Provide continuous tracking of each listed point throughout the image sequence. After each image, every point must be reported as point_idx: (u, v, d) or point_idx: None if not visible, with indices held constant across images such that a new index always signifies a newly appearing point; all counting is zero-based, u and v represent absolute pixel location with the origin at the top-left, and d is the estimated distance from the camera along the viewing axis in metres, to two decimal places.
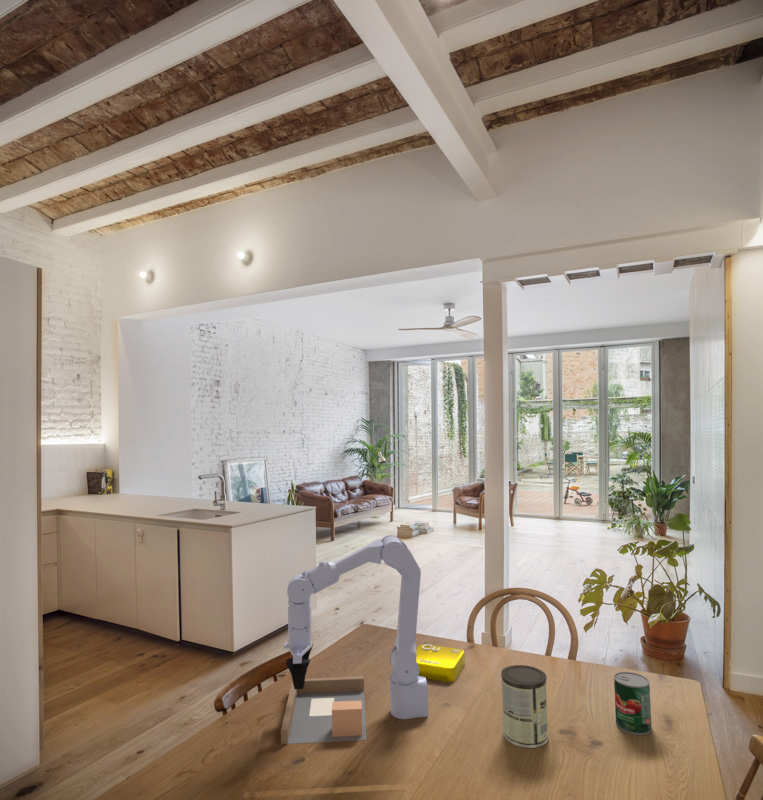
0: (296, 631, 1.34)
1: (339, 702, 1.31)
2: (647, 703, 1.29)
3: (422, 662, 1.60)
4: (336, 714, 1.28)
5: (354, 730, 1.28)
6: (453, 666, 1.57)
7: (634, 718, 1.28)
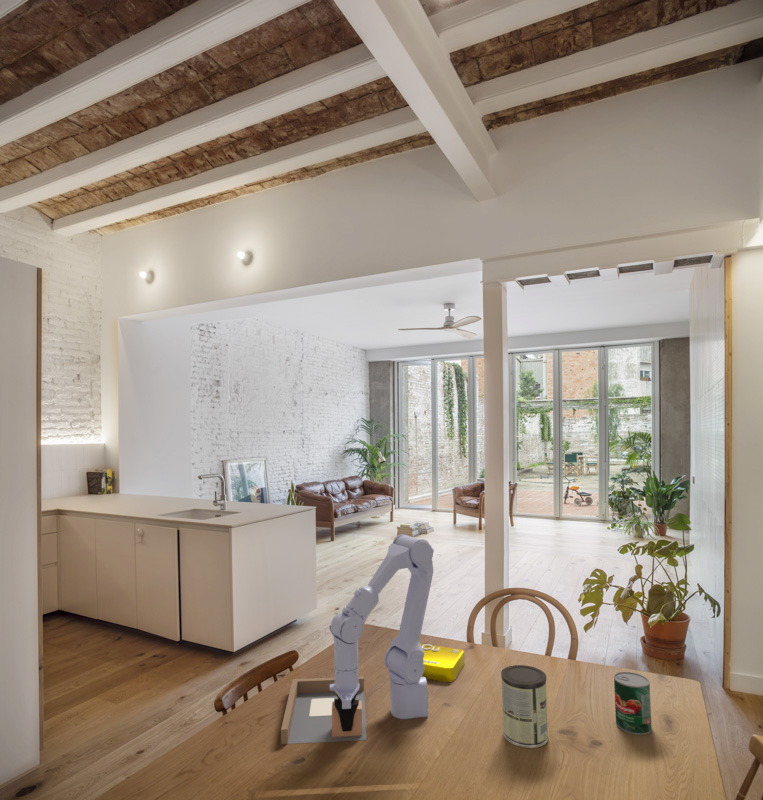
0: (344, 673, 1.28)
1: None
2: (647, 703, 1.29)
3: None
4: (336, 714, 1.28)
5: (354, 730, 1.28)
6: (452, 666, 1.57)
7: (634, 718, 1.28)
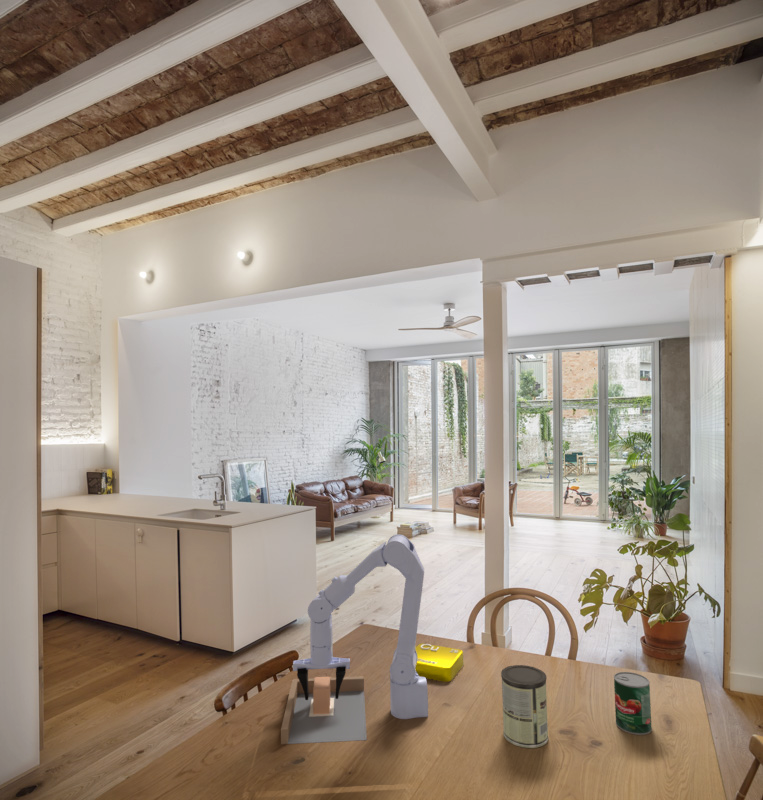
0: None
1: (327, 679, 1.43)
2: (647, 703, 1.29)
3: (419, 661, 1.61)
4: None
5: None
6: (450, 666, 1.57)
7: (634, 718, 1.28)
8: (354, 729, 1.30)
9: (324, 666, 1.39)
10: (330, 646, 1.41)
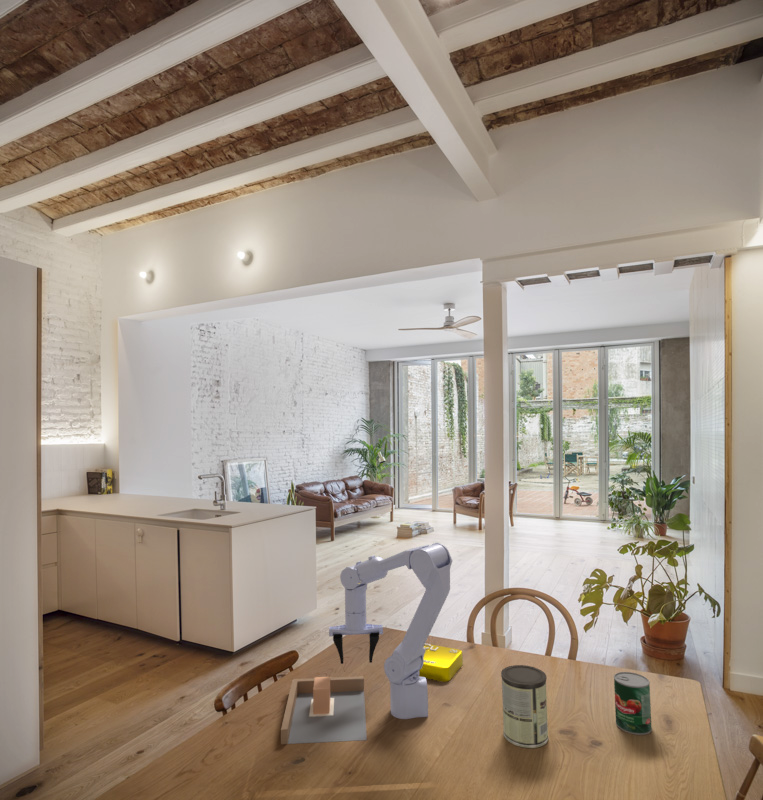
0: None
1: (327, 679, 1.43)
2: (647, 703, 1.29)
3: None
4: None
5: None
6: (448, 666, 1.57)
7: (634, 718, 1.28)
8: (354, 729, 1.30)
9: (359, 631, 1.46)
10: (364, 612, 1.48)
